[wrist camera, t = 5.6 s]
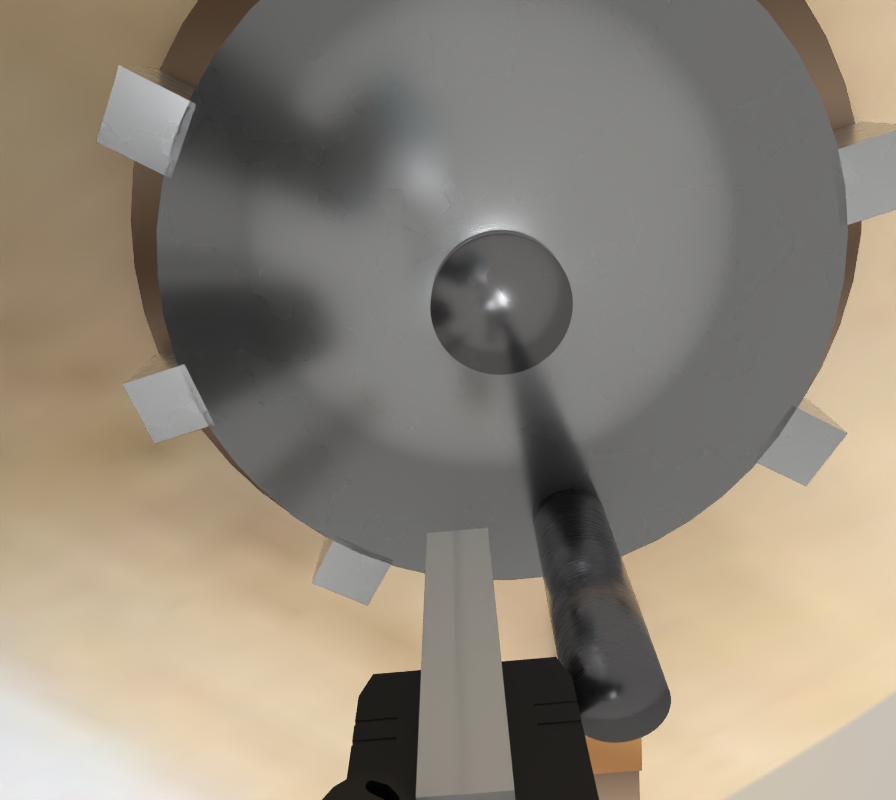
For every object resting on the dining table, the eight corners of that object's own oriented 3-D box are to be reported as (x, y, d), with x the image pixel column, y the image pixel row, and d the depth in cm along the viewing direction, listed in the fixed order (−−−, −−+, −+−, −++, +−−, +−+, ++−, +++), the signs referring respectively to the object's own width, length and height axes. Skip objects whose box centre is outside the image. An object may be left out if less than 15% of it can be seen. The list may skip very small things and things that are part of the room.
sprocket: (-18, 21, 16) (-421, -40, 9) (810, -319, 14) (1224, -799, 6) (301, 641, 22) (226, 910, 15) (901, 480, 20) (1159, 704, 13)
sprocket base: (48, -92, 16) (28, -100, 16) (884, -209, 15) (906, -224, 15) (231, 581, 23) (224, 598, 22) (817, 528, 22) (829, 544, 21)
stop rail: (554, 605, 23) (568, 672, 21) (618, 600, 23) (640, 666, 21) (565, 746, 26) (578, 822, 23) (623, 741, 26) (642, 817, 23)
